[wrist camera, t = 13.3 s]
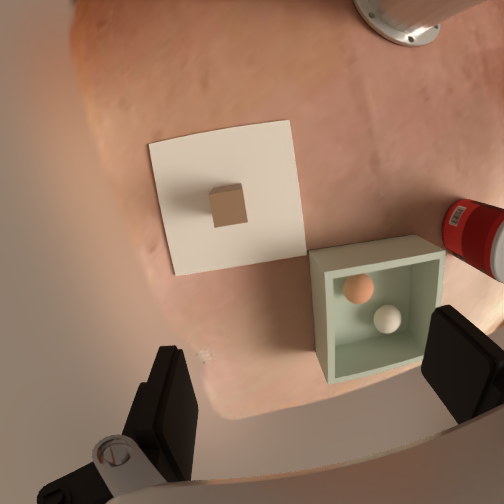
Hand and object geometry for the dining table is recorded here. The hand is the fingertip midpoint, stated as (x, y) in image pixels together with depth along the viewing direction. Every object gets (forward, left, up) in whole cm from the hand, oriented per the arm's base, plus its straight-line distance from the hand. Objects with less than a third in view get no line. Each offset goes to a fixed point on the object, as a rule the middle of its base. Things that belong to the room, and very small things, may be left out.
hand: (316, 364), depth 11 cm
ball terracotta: (+9, +10, -23) cm, 26 cm away
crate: (+11, +12, -25) cm, 30 cm away
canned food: (+4, +27, -25) cm, 37 cm away
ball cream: (+14, +14, -23) cm, 30 cm away
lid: (-3, -3, -26) cm, 26 cm away
